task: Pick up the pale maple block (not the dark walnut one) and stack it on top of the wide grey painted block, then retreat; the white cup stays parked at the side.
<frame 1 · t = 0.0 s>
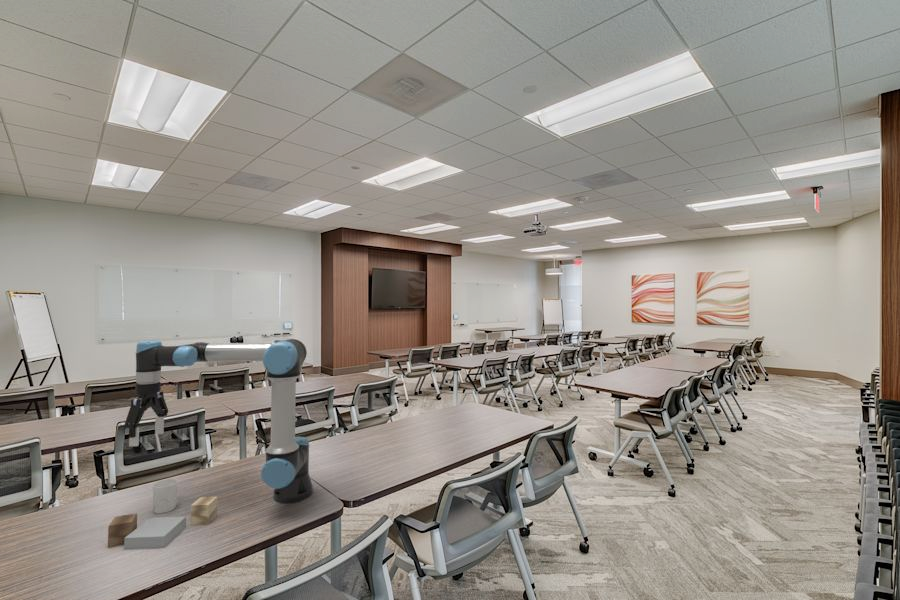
hand: (147, 439, 146), 28 cm above the table, fingers open, 13 cm apart
walnut block: (122, 540, 130), on the table
maple block: (204, 520, 142), on the table
grey block: (156, 538, 131), on the table
white cup: (165, 509, 150), on the table
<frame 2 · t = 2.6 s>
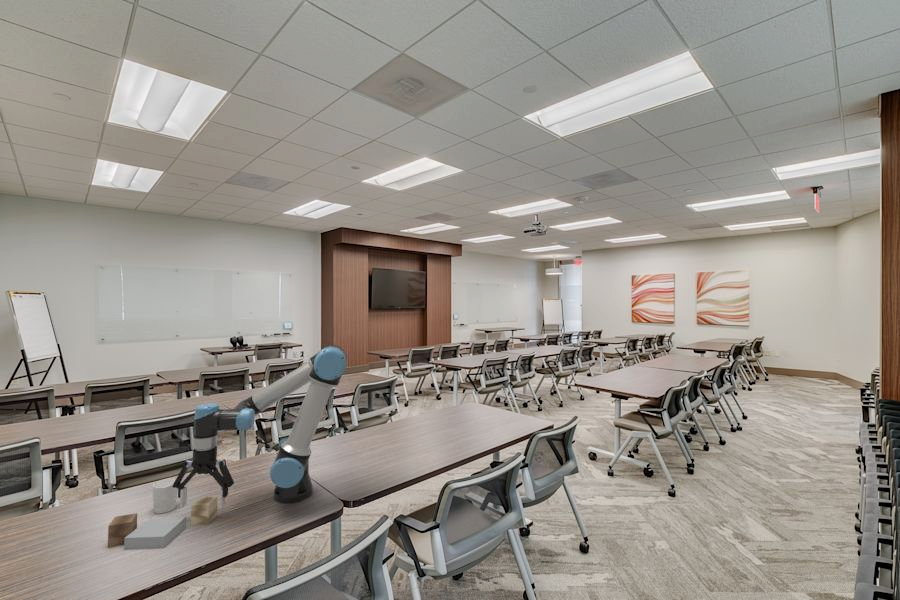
hand: (202, 506, 142), 5 cm above the table, fingers open, 13 cm apart
nothing on the table moved.
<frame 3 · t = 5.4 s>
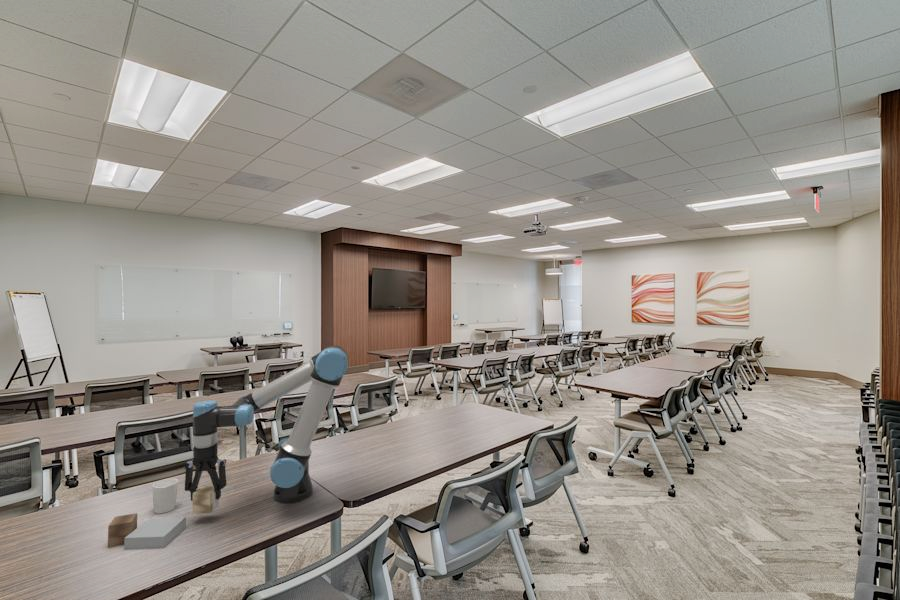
hand: (206, 508, 142), 4 cm above the table, fingers closed on maple block, 6 cm apart
maple block: (206, 509, 142), point 4 cm above the table, touching gripper
everything else where it was.
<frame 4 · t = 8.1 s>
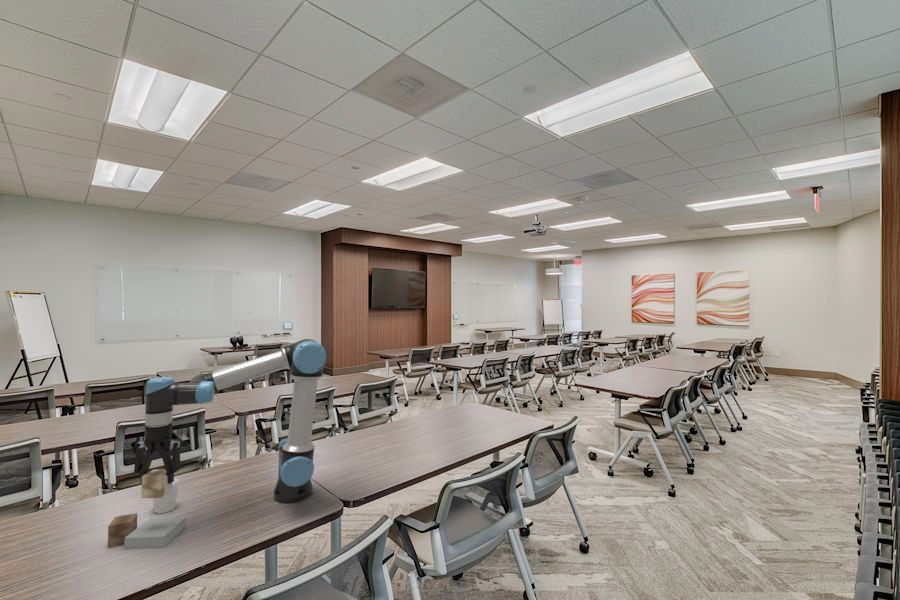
hand: (156, 493, 132), 15 cm above the table, fingers closed on maple block, 6 cm apart
maple block: (156, 493, 132), point 15 cm above the table, touching gripper
everything else where it was.
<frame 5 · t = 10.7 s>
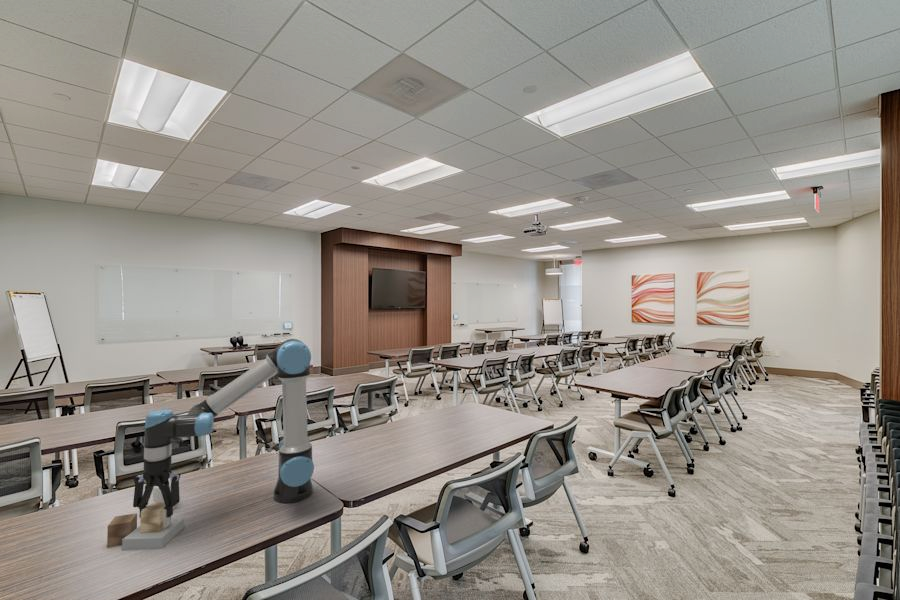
hand: (155, 526, 131), 4 cm above the table, fingers closed on maple block, 6 cm apart
maple block: (155, 527, 131), point 3 cm above the table, touching gripper
grey block: (154, 540, 131), on the table, touching gripper
everything else where it was.
when the fingers open (4 cm above the table, at t = 10.9 s): maple block stays where it is, resting on grey block.
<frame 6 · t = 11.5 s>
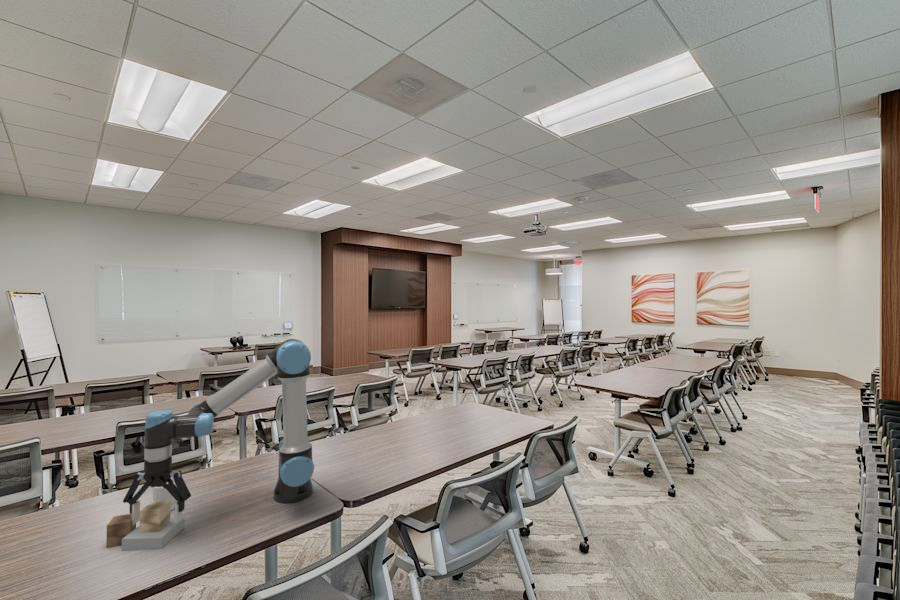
hand: (157, 521, 132), 5 cm above the table, fingers open, 13 cm apart
walnut block: (121, 540, 130), on the table, touching gripper
maple block: (155, 527, 131), point 4 cm above the table, touching grey block
grey block: (154, 540, 131), on the table, touching maple block
everything else where it was.
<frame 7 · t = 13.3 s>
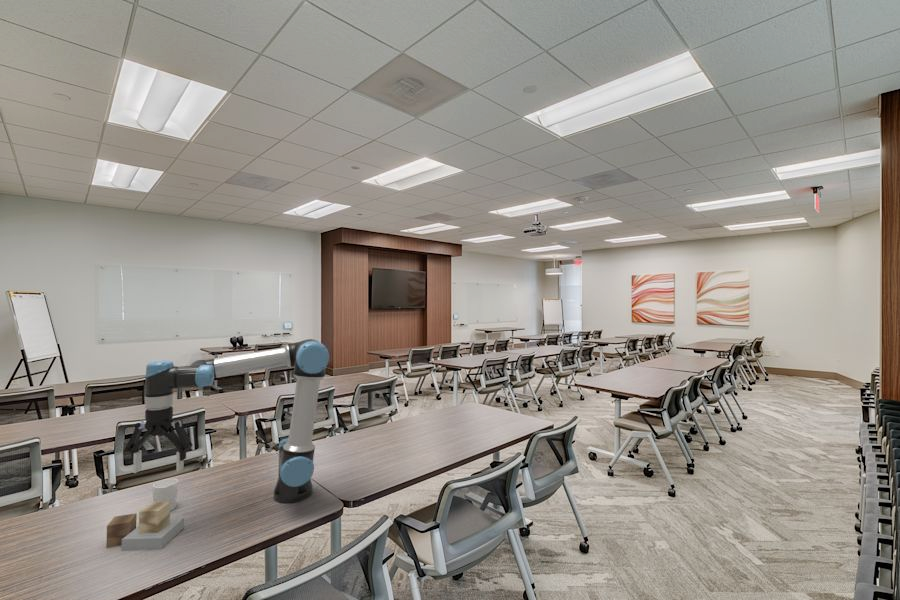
hand: (158, 470, 132), 22 cm above the table, fingers open, 13 cm apart
walnut block: (121, 540, 130), on the table
maple block: (154, 527, 131), point 3 cm above the table
grey block: (154, 540, 131), on the table
everything else where it was.
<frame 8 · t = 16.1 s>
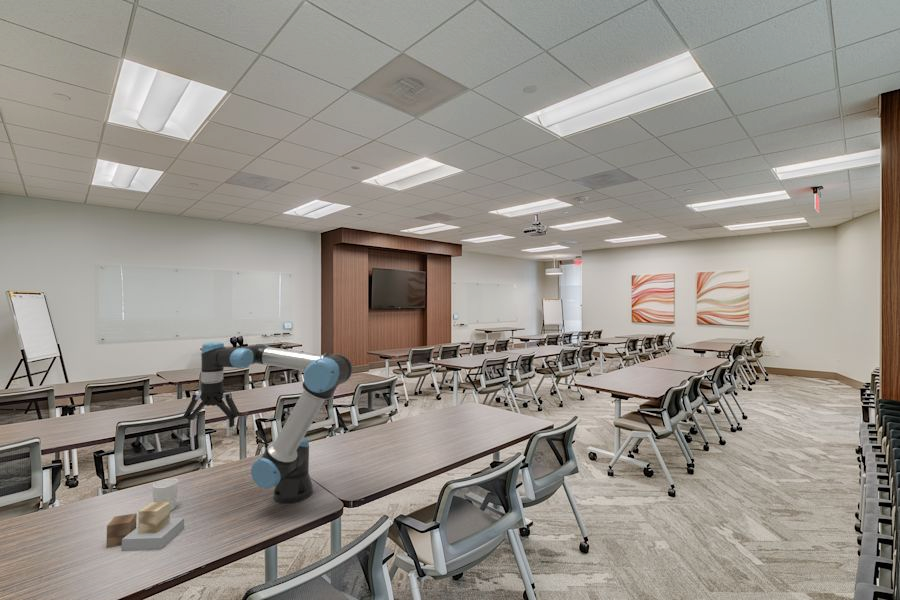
hand: (211, 435, 154), 27 cm above the table, fingers open, 13 cm apart
maple block: (154, 527, 131), point 4 cm above the table, touching grey block
grey block: (154, 540, 131), on the table, touching maple block
everything else where it was.
at the end: maple block inside the target area on the grey block (0.3 cm from its centre), point 4.0 cm above the grey block's base; maple block tilted 0°; the gripper is holding nothing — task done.
